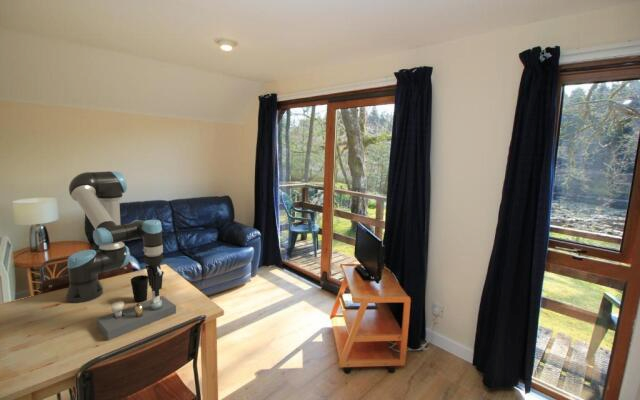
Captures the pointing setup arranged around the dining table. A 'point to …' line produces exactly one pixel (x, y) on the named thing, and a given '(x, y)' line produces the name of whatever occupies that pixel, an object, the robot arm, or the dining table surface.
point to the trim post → (138, 310)
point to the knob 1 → (117, 309)
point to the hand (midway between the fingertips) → (156, 301)
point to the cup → (140, 288)
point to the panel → (133, 318)
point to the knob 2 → (156, 305)
